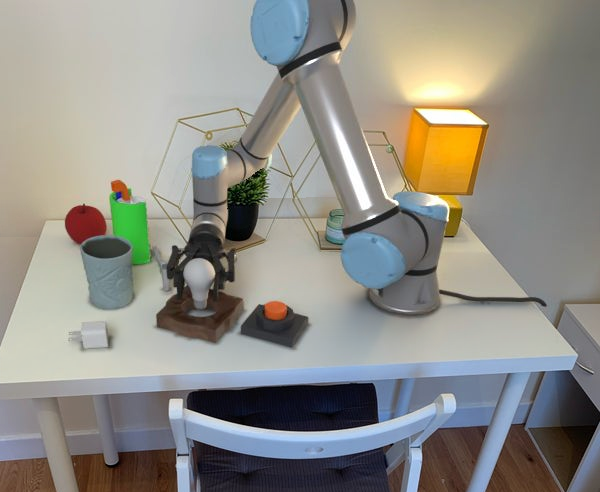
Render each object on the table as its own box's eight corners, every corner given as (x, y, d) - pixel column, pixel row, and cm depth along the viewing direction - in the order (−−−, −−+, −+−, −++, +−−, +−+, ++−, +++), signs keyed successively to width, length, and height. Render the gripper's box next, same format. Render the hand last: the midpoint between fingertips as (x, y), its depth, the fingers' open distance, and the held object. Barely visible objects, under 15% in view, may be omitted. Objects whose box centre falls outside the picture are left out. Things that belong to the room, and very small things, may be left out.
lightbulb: (221, 306, 134) (220, 257, 127) (205, 320, 130) (204, 271, 123) (195, 298, 136) (193, 249, 129) (179, 311, 132) (176, 262, 125)
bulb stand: (246, 310, 138) (247, 298, 136) (217, 345, 128) (216, 332, 126) (186, 294, 141) (186, 282, 139) (153, 327, 131) (152, 315, 129)
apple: (111, 234, 160) (106, 194, 154) (105, 251, 154) (99, 211, 147) (72, 232, 160) (65, 193, 153) (64, 250, 153) (56, 209, 146)
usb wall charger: (108, 348, 125) (105, 331, 122) (69, 351, 123) (66, 333, 121) (108, 336, 128) (105, 319, 125) (71, 339, 126) (67, 321, 124)
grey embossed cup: (92, 285, 142) (84, 233, 134) (140, 286, 143) (135, 235, 135) (84, 311, 134) (75, 257, 126) (135, 311, 135) (129, 258, 127)
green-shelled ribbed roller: (160, 257, 153) (154, 182, 141) (131, 268, 148) (122, 191, 137) (136, 243, 157) (128, 169, 146) (107, 253, 153) (97, 177, 141)
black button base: (307, 324, 135) (309, 308, 133) (292, 347, 129) (293, 330, 126) (258, 312, 138) (259, 295, 135) (240, 334, 131) (240, 317, 129)
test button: (289, 311, 132) (290, 304, 131) (281, 322, 129) (282, 314, 128) (269, 306, 133) (269, 298, 132) (260, 317, 130) (261, 309, 129)
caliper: (169, 292, 140) (166, 264, 137) (165, 292, 140) (162, 264, 137) (158, 264, 157) (155, 239, 155) (153, 264, 157) (151, 239, 154)
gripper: (250, 256, 146) (247, 313, 128) (163, 252, 144) (147, 309, 127) (251, 224, 141) (247, 279, 123) (161, 220, 139) (144, 274, 122)
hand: (197, 294), depth 125 cm, fingers closed on lightbulb, 6 cm apart
